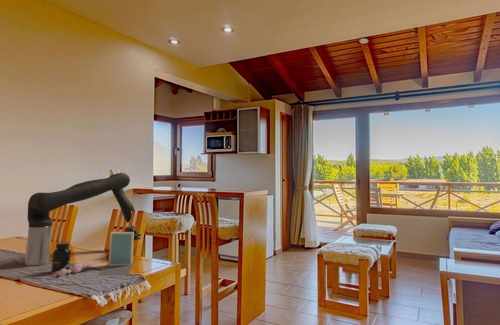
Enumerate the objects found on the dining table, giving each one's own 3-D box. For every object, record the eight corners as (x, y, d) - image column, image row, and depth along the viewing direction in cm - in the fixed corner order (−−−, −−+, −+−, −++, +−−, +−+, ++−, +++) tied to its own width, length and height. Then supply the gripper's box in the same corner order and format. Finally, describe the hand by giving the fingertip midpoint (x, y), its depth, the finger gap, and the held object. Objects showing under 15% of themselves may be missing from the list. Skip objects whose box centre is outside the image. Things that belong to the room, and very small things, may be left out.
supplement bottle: (50, 274, 130) (52, 245, 131) (51, 270, 136) (54, 242, 137) (69, 272, 133) (71, 244, 134) (70, 268, 139) (72, 241, 141)
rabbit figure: (56, 282, 124) (95, 269, 136) (55, 267, 124) (94, 256, 135) (51, 279, 128) (89, 267, 140) (50, 265, 128) (88, 253, 139)
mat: (108, 264, 149) (108, 262, 149) (135, 263, 152) (135, 262, 152) (96, 277, 128) (97, 275, 128) (128, 275, 131) (128, 274, 131)
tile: (109, 264, 146) (111, 232, 148) (132, 264, 148) (133, 231, 150) (108, 265, 144) (110, 232, 145) (131, 265, 146) (133, 232, 148)
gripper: (118, 227, 173) (111, 232, 156) (143, 227, 176) (139, 231, 159) (117, 241, 172) (111, 247, 155) (143, 240, 175) (139, 246, 158)
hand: (125, 239), depth 157 cm, fingers closed
